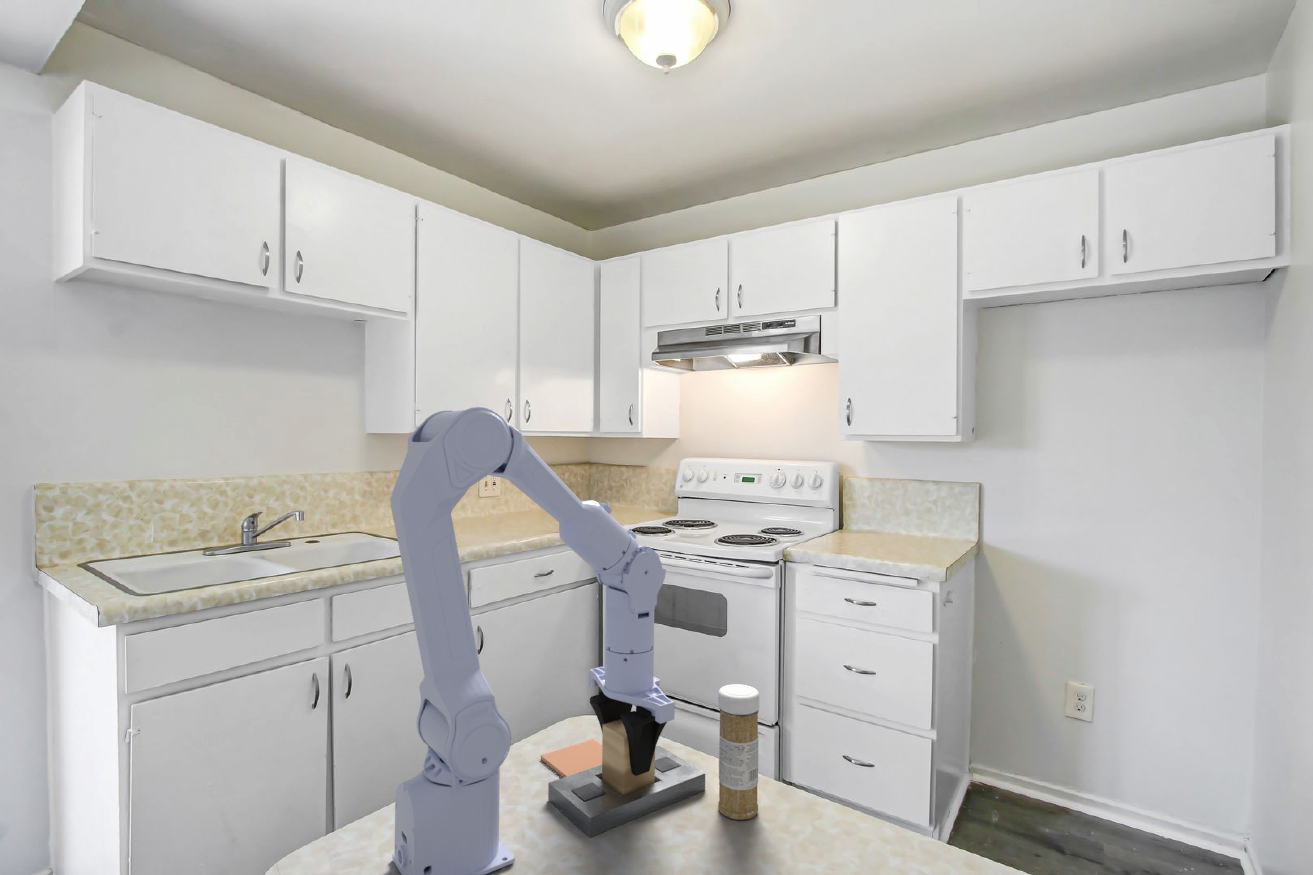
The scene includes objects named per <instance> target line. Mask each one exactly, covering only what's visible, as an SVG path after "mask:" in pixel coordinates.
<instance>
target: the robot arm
mask: <svg viewBox="0 0 1313 875" xmlns="http://www.w3.org/2000/svg"><path fill="white" fill-rule="evenodd" d="M488 476H491V477H497V478H502V479H505V480H508V481H509V482H510V483H511V484H513V485H514V486H515V487H516V488H517V489H518V490H520V492H522V493H523V494H525V495H526V497H528V498H529V499H531V500H532V502H534V503H535V504H536V505H537V506H539V507H540V508H541V509H542V510H544V511H545V513H547V514H548V515H549V516H551V517H552V518H553V519H554V520H556V521H557V522H558V531H559V532H558V533H559V534H558V535H559V539H560V540H561V542H563V543H564V544H565V545H567V547H569V548H570V549H571V550H572V551H573V552H574V554H577V555H578V557H580V558H581V559H582V560H583V561H584V562H585V563H586V564H588V565H589V566H590V567H591V568H592V569H593V571H594V573H595V577H596V579H597V581H598V583H599V584H601V585H604V586H605V627H604V629H605V631H604V632H605V634H604V635H605V636H604V637H605V639H604V646H605V647H604V666H598V667H595V668H590V669H589V672H588V673H589V674H588V675H589V676H588V679H589V681H588V684H589V686H591V687H593V688H596V687H598V688H600V690H599V692H598V694H596V695H591V697H589V704H590V706H591V708H592V709H593V711H594V713H595V715H596V717H597V720H598V723H599V726H600V729H601V730H600V731H601V734H602V735H603V724H606V723H610V722H613V721H616V720H620V719H621V720H622V722H623V725H624V727H625V730H626V734H627V738H628V743H629V755H630V766H631V771H632V774H633V775H635V776H637V775H640V774H643V773H646V772H649V770H650V767H651V763H652V759H653V755H654V751H655V748H656V746H657V744H658V741H659V739H660V737H661V735H662V733H663V732H662V731H664V728H665V726H666V725H667V723H668V722H670V721H672V720H673V721H674V720H675V712H676V711H675V704H676V703H675V701H674V700H672V699H671V698H669V697H667V696H666V694H665V692H663V691H662V690H661V688H660V686H661V679H660V678H657V677H656V676H655V674H654V673H655V670H654V668H655V667H654V666H655V664H654V663H655V662H654V659H655V658H654V655H655V609H656V606H657V605H658V594H659V591H660V589H661V588H662V586H663V584H664V581H665V578H666V573H667V569H666V568H664V567H663V565H662V562H661V559H660V557H659V554H658V553H657V552H656V551H655V549H653V548H650V547H649V546H645V545H644V546H643V545H639V544H638V541H637V539H636V538H637V534H636V533H634V531H632V530H630V529H629V530H628V529H627V530H626V528H624V526H623V525H621V523H619V521H618V520H616V519H615V518H614V517H613V516H612V515H611V513H612V511H613V509H612V507H610V506H609V504H607V503H605V502H597V500H591V499H590V500H580V498H579V497H577V495H576V494H575V493H574V492H573V491H572V490H571V489H570V487H568V485H567V484H566V483H565V482H564V481H563V480H562V479H561V478H560V477H559V476H558V474H556V472H555V471H554V470H552V468H551V467H550V466H549V465H548V464H547V463H546V461H544V460H543V459H542V458H541V457H540V455H539V454H538V453H537V452H536V451H535V450H534V448H532V446H530V444H529V443H528V441H527V440H526V438H525V437H524V435H523V434H522V432H520V431H519V430H518V429H517V428H515V427H514V426H512V425H508V423H507V421H506V420H505V419H504V417H503V416H502V415H501V414H499V413H498V412H497V411H495V410H493V409H491V408H489V407H484V406H474V407H469V408H467V409H463V410H442V411H441V410H440V411H436V412H434V413H432V414H431V415H429V416H428V417H427V418H425V420H424V421H423V422H421V424H419V426H418V427H417V428H415V430H414V431H413V432H412V433H411V434H410V435H409V437H408V439H407V452H406V454H405V457H404V460H403V462H402V465H401V468H400V470H399V473H398V476H397V479H396V482H395V484H394V487H393V489H392V491H391V496H390V508H391V513H392V519H393V523H394V529H395V534H396V539H397V543H398V544H397V545H398V550H399V554H400V559H401V560H400V561H401V564H402V568H403V574H404V579H405V580H404V581H405V584H406V588H407V593H408V600H409V605H410V609H411V614H412V619H413V625H414V628H415V629H414V631H415V634H416V639H417V644H418V649H419V654H420V658H421V664H422V670H423V675H424V677H423V679H422V681H421V682H420V684H419V686H418V688H419V689H418V690H419V694H420V706H419V710H418V714H417V717H416V729H417V734H418V736H419V738H420V740H421V741H422V742H423V743H424V744H425V745H427V753H426V756H425V759H424V764H423V770H422V771H421V772H419V773H417V775H415V776H413V777H412V778H409V779H408V780H405V781H403V782H401V783H400V784H398V786H397V789H396V792H395V802H394V804H395V805H394V812H395V813H394V852H393V853H392V856H391V858H392V861H393V862H394V865H395V866H396V868H397V869H398V871H399V873H400V875H487V874H489V873H491V872H494V871H497V870H500V869H501V868H504V867H506V866H510V865H512V864H513V863H515V861H516V857H515V854H513V852H512V851H511V850H510V849H509V848H508V846H507V845H505V843H504V842H503V841H502V840H501V839H500V786H501V785H500V781H501V780H500V776H501V766H502V765H503V764H504V762H505V760H506V758H507V756H508V755H509V752H510V749H511V745H512V740H513V739H512V730H511V726H510V724H509V722H508V721H507V718H505V717H504V716H503V715H502V713H500V711H499V710H498V707H497V703H496V698H495V694H494V691H493V690H492V688H491V686H490V684H489V682H488V681H487V679H486V677H485V675H484V673H483V671H482V668H481V665H480V659H479V654H478V649H477V644H476V639H475V638H476V637H475V634H474V628H473V623H472V622H473V621H472V618H471V612H470V608H469V602H468V598H467V592H466V585H465V581H464V576H463V570H462V565H461V560H460V555H459V550H458V545H457V544H458V543H457V539H456V533H455V529H454V522H453V517H452V513H453V510H454V508H455V507H456V506H457V504H458V503H459V502H460V501H461V499H462V498H463V497H464V496H465V494H467V492H468V491H469V489H471V487H473V486H474V485H476V484H477V483H479V482H480V481H482V480H484V478H486V477H488ZM633 706H634V707H635V710H633V711H632V709H633Z"/></svg>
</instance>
